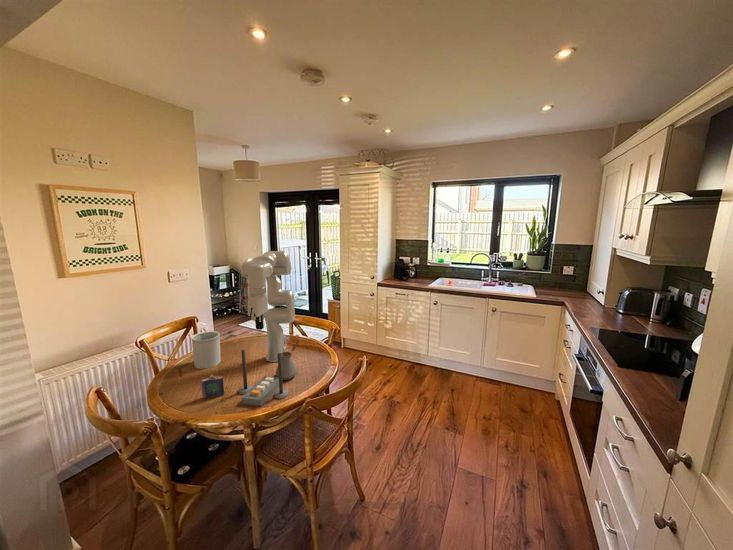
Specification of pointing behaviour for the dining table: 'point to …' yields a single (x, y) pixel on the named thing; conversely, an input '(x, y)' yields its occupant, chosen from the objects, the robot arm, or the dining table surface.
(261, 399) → the breaker strip
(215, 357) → the utensil holder
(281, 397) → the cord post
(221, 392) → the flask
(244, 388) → the post
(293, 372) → the coffee pot
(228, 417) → the dining table surface
